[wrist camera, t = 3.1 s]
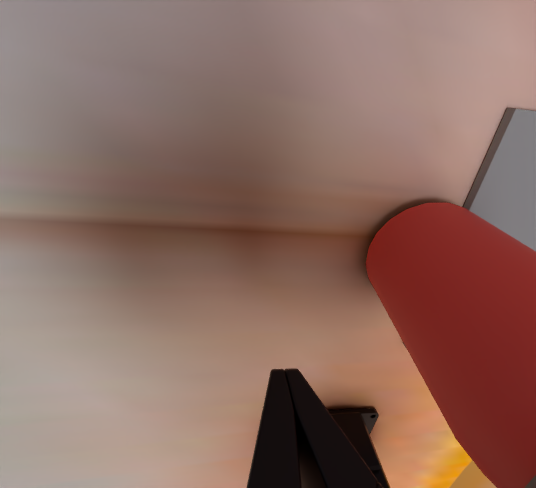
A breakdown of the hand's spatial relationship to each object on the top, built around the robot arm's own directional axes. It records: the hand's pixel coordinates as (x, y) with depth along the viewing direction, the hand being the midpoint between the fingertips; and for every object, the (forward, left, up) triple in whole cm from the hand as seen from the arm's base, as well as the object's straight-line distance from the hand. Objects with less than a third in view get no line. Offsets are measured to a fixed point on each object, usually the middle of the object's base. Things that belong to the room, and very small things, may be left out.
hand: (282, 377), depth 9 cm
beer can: (0, -9, -8) cm, 13 cm away
